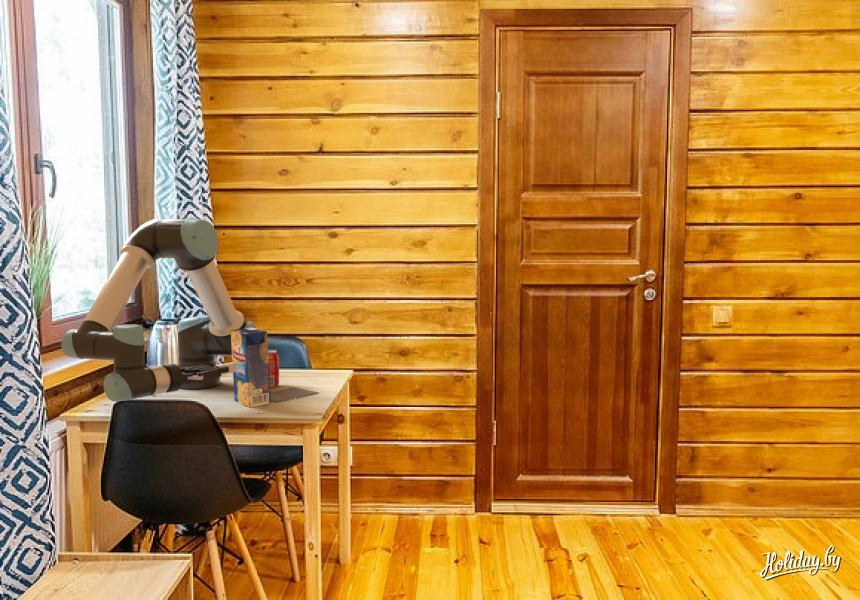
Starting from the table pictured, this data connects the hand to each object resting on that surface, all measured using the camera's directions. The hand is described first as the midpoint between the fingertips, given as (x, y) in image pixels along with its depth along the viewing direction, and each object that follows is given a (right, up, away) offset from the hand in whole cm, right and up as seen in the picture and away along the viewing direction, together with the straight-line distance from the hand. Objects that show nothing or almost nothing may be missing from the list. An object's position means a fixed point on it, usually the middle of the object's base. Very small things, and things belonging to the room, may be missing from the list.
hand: (234, 367), depth 220 cm
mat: (+12, -10, +17) cm, 23 cm away
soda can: (+4, -9, +29) cm, 31 cm away
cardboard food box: (+4, -11, +7) cm, 14 cm away
